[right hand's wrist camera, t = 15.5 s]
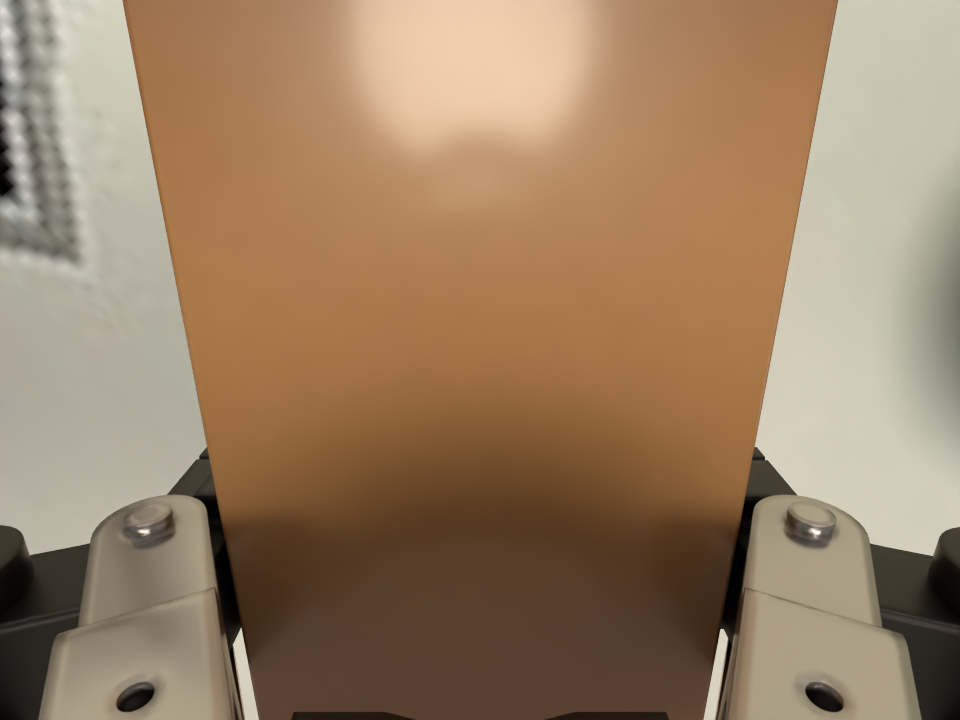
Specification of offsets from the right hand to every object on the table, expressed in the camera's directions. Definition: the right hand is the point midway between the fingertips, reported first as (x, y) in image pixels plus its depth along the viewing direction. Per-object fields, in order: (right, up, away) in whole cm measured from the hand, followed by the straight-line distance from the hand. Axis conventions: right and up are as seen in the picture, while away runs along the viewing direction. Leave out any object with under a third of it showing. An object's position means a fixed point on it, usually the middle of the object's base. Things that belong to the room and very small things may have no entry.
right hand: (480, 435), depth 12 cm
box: (0, +9, +1) cm, 9 cm away
